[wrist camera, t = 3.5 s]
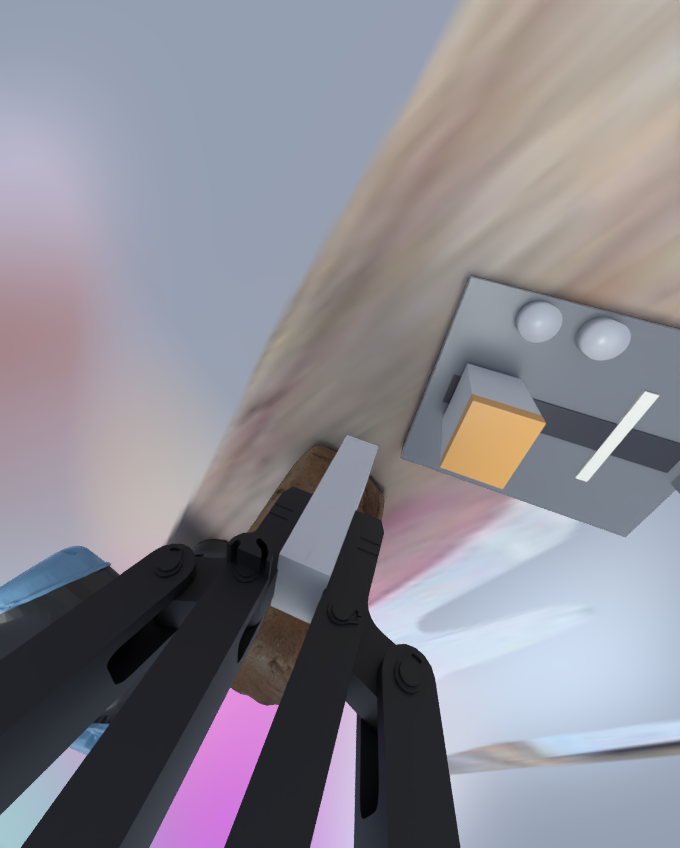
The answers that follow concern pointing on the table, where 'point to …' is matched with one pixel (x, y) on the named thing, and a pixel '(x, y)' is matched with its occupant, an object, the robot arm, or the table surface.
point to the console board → (568, 401)
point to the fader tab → (488, 426)
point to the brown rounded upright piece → (280, 630)
